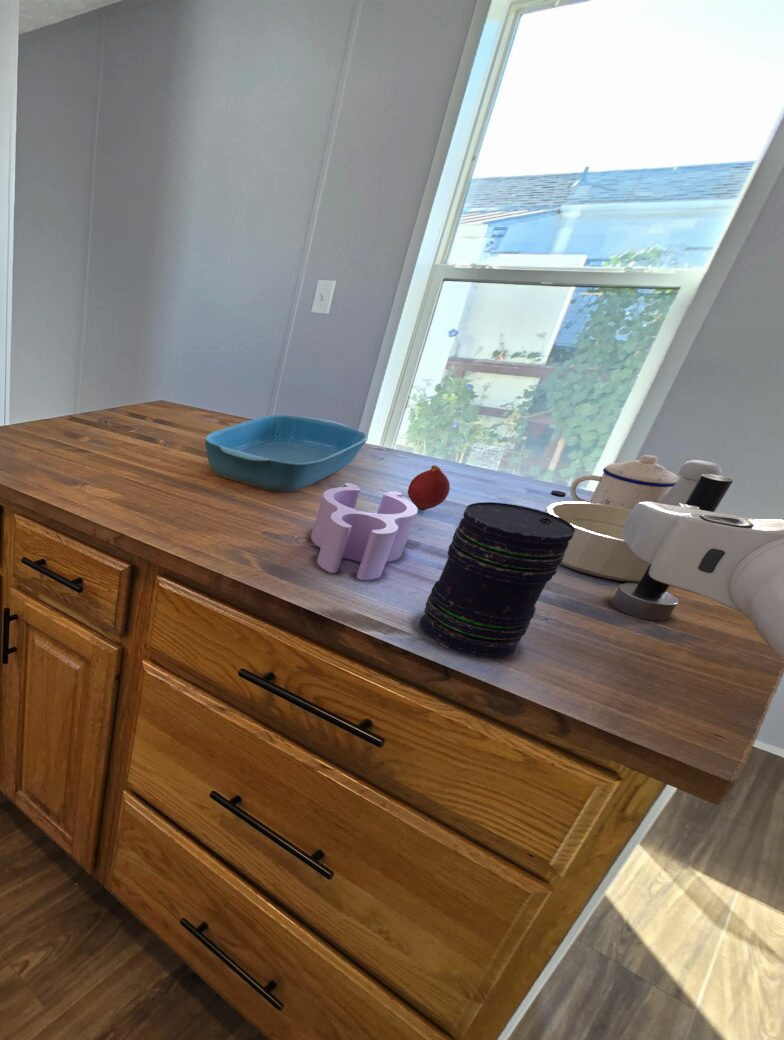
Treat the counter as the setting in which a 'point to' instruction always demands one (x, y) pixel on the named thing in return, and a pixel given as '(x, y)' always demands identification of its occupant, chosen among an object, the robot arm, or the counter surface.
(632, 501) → the teacup with lid
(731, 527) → the robot arm
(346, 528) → the clip
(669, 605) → the black tall cylinder post
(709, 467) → the salt shaker
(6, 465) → the counter surface
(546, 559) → the oil drum
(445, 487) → the onion
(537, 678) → the counter surface
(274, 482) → the casserole dish
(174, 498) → the counter surface
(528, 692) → the counter surface
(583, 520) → the bowl
